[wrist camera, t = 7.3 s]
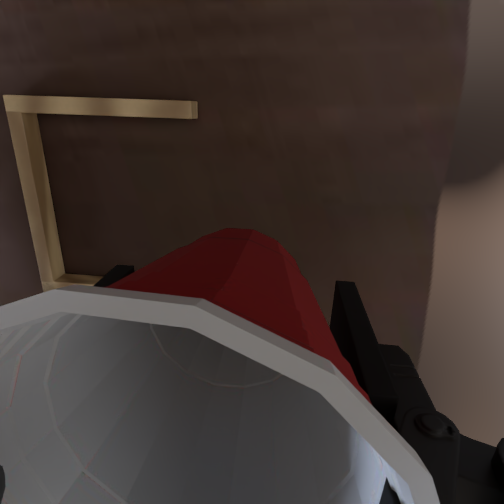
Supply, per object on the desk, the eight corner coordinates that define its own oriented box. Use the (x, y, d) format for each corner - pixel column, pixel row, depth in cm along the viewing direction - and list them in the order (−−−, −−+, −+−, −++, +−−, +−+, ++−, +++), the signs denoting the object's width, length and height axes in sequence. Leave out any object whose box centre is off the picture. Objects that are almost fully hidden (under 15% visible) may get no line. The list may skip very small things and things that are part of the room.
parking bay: (55, 283, 34) (43, 292, 32) (19, 95, 28) (2, 94, 26) (201, 295, 33) (196, 305, 31) (197, 101, 27) (191, 100, 25)
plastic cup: (141, 143, 16) (-233, 217, 4) (382, 202, 15) (616, 432, 4) (121, 342, 20) (-101, 642, 9) (311, 391, 20) (338, 760, 8)
